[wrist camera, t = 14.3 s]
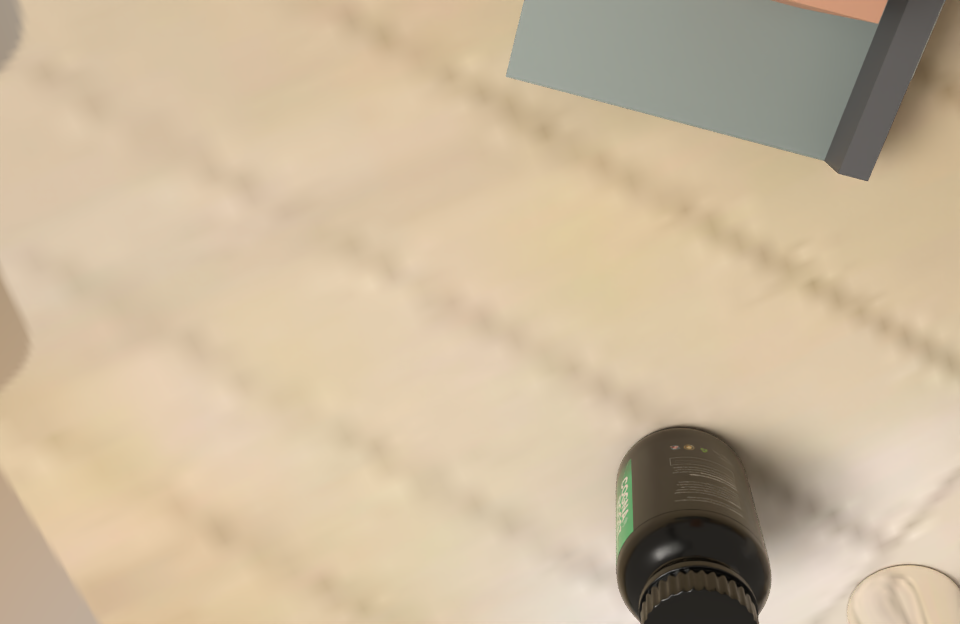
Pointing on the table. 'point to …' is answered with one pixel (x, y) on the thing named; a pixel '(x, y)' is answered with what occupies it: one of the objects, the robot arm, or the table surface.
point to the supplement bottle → (688, 533)
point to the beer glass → (905, 598)
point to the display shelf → (735, 67)
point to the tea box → (843, 8)
